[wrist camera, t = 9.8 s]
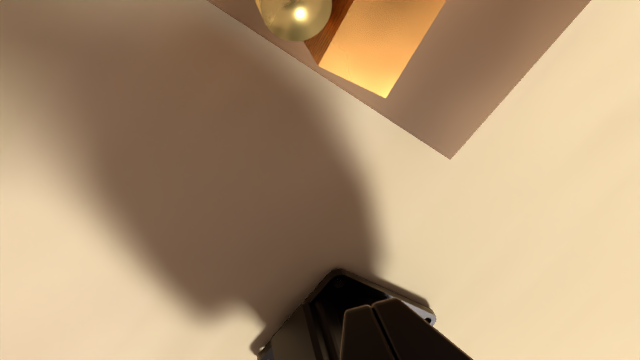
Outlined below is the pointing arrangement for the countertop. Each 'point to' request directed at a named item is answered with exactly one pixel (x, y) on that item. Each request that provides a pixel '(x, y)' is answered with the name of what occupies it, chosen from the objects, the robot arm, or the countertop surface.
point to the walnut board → (449, 63)
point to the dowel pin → (295, 17)
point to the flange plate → (372, 39)
